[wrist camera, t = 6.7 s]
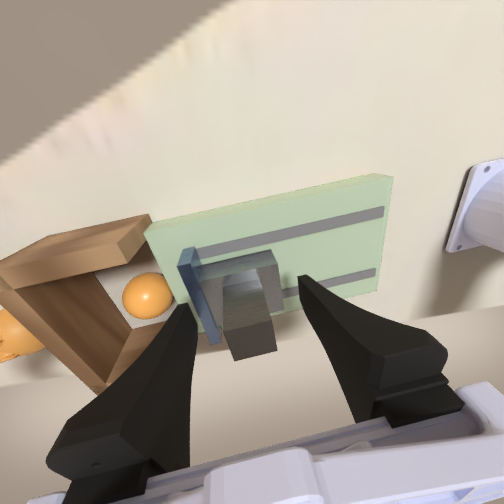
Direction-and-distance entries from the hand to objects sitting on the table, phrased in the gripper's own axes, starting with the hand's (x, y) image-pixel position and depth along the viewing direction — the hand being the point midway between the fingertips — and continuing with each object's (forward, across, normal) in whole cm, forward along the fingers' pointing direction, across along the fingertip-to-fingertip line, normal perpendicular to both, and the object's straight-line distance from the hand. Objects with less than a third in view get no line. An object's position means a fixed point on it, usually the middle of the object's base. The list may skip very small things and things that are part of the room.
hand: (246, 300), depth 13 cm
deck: (+5, -3, 0) cm, 6 cm away
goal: (+5, +9, 0) cm, 10 cm away
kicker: (+3, 0, 0) cm, 3 cm away
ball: (+3, +7, 0) cm, 8 cm away
